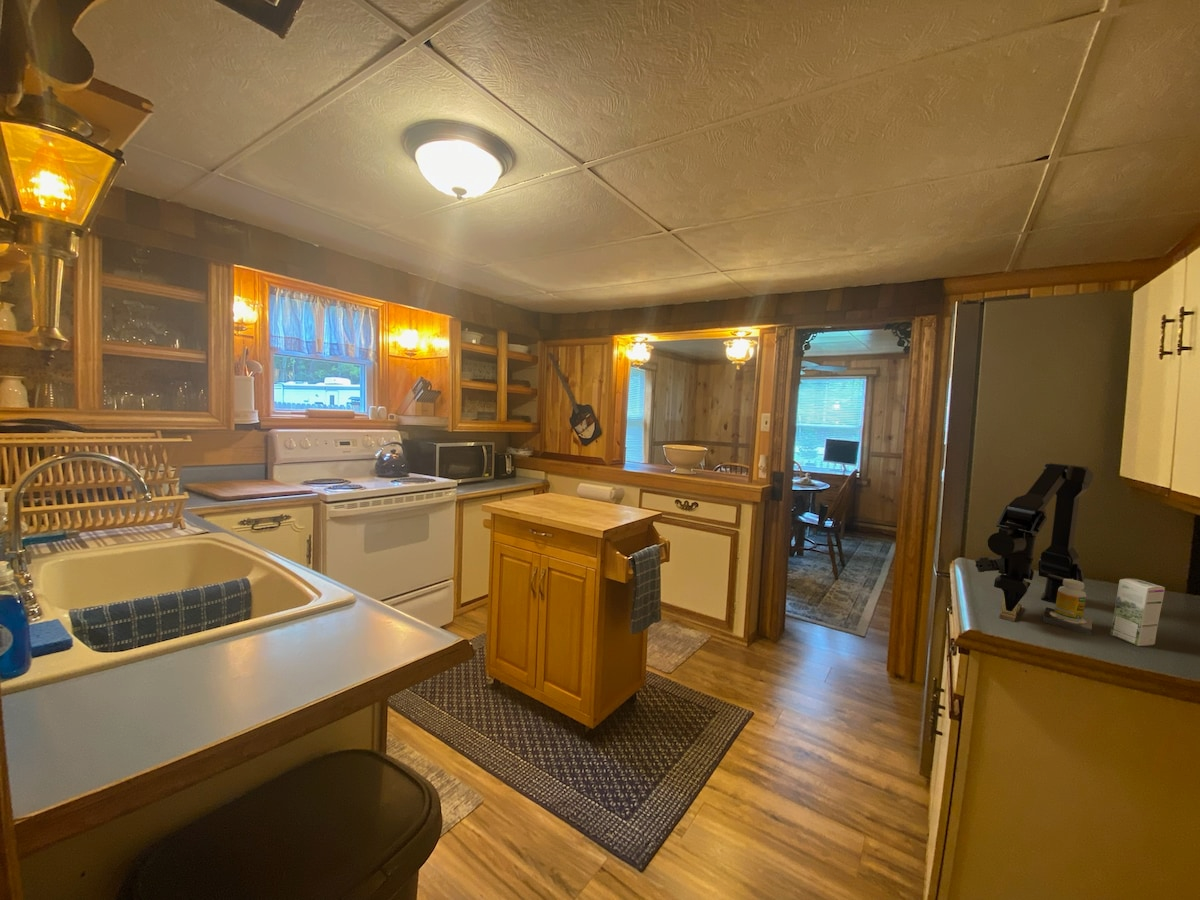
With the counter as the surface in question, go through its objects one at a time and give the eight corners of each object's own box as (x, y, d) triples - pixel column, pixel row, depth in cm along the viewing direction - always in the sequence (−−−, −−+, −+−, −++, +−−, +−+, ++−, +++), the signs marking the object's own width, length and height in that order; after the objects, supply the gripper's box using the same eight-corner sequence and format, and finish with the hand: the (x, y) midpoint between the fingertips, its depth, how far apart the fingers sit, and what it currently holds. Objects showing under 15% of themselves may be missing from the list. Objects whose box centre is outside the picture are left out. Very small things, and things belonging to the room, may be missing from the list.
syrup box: (1155, 645, 120) (1167, 586, 119) (1137, 646, 119) (1148, 587, 117) (1126, 633, 126) (1136, 577, 124) (1108, 634, 125) (1118, 578, 123)
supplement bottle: (1057, 611, 134) (1063, 576, 133) (1085, 619, 129) (1091, 583, 128) (1050, 615, 131) (1056, 579, 130) (1078, 623, 126) (1084, 586, 125)
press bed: (1045, 612, 137) (1046, 606, 136) (1091, 624, 130) (1092, 618, 130) (1042, 621, 130) (1043, 615, 130) (1090, 634, 124) (1091, 628, 124)
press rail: (1007, 603, 141) (1007, 600, 141) (1020, 607, 139) (1021, 604, 139) (999, 617, 131) (1000, 614, 131) (1014, 621, 129) (1014, 618, 129)
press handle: (1002, 608, 134) (1005, 590, 134) (1017, 612, 132) (1020, 594, 132) (1001, 611, 132) (1003, 593, 132) (1015, 615, 130) (1018, 597, 130)
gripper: (986, 537, 143) (978, 590, 145) (973, 549, 130) (965, 608, 131) (1037, 548, 135) (1028, 604, 137) (1030, 561, 122) (1020, 623, 124)
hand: (1009, 609), depth 132 cm, fingers closed on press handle, 3 cm apart
